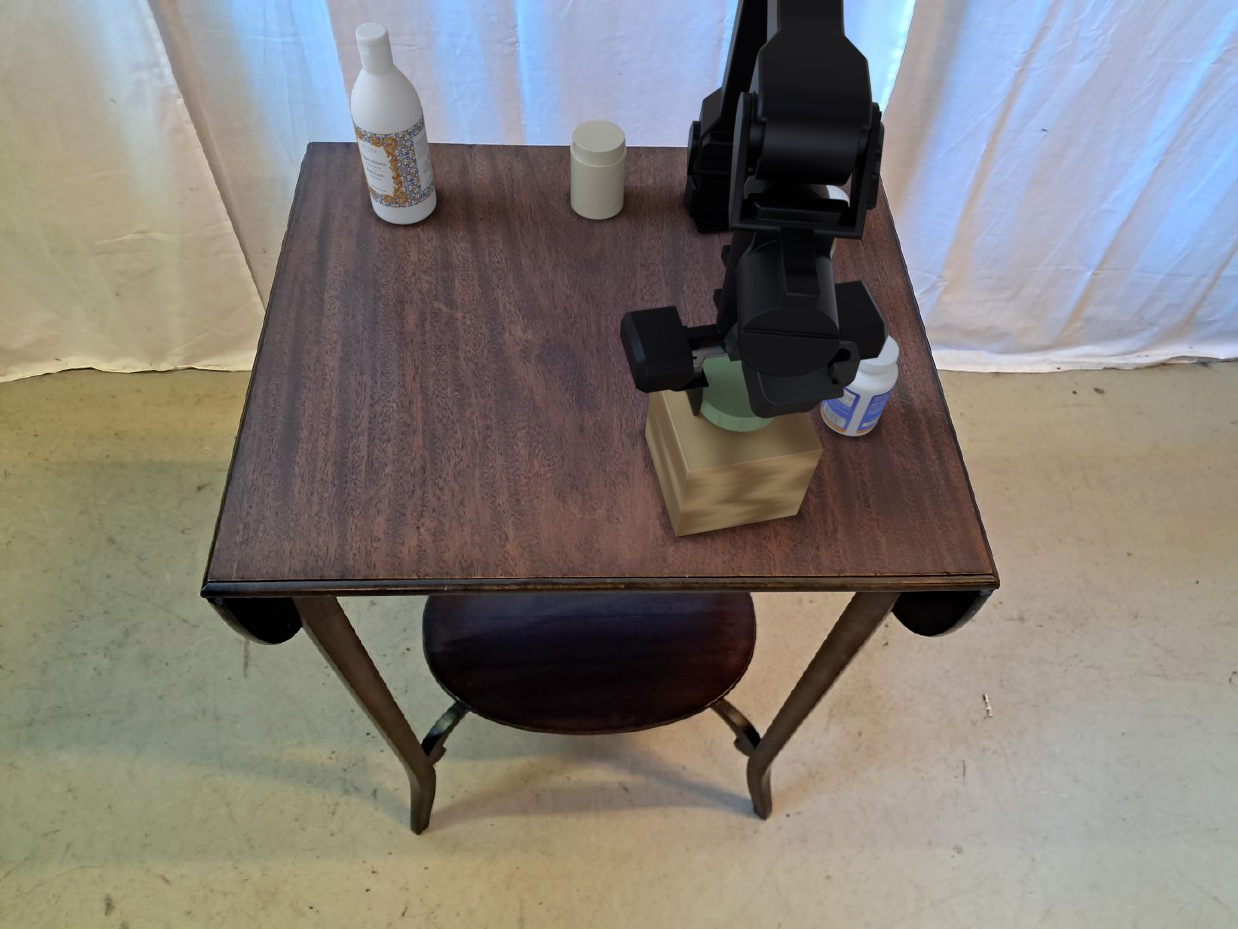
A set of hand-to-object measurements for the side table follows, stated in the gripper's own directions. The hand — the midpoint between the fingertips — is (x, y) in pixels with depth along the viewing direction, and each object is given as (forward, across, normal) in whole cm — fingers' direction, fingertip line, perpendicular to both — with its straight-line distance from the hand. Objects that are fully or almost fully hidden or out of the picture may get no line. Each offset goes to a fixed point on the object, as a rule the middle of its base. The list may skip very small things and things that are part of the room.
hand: (735, 405), depth 71 cm
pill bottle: (+10, +14, +4) cm, 18 cm away
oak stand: (+10, 0, 0) cm, 10 cm away
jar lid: (-2, 0, 0) cm, 2 cm away
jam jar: (+10, -3, +38) cm, 39 cm away
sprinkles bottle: (+10, +14, +19) cm, 26 cm away
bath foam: (+10, -24, +41) cm, 49 cm away
